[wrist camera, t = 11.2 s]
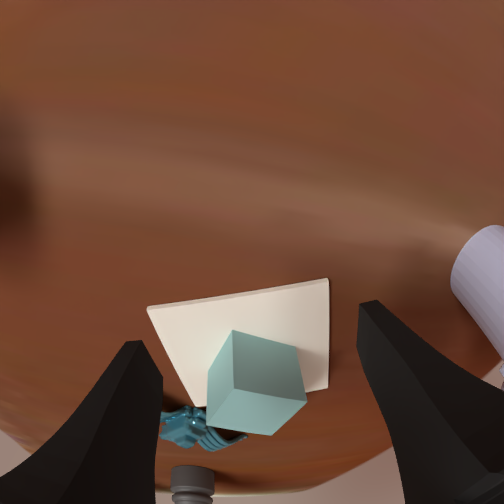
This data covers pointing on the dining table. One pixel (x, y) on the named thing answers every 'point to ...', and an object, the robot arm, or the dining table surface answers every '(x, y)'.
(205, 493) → the candle holder
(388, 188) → the dining table surface
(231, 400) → the teal cube
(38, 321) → the dining table surface
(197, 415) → the flying bird
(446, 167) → the dining table surface
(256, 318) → the mat
